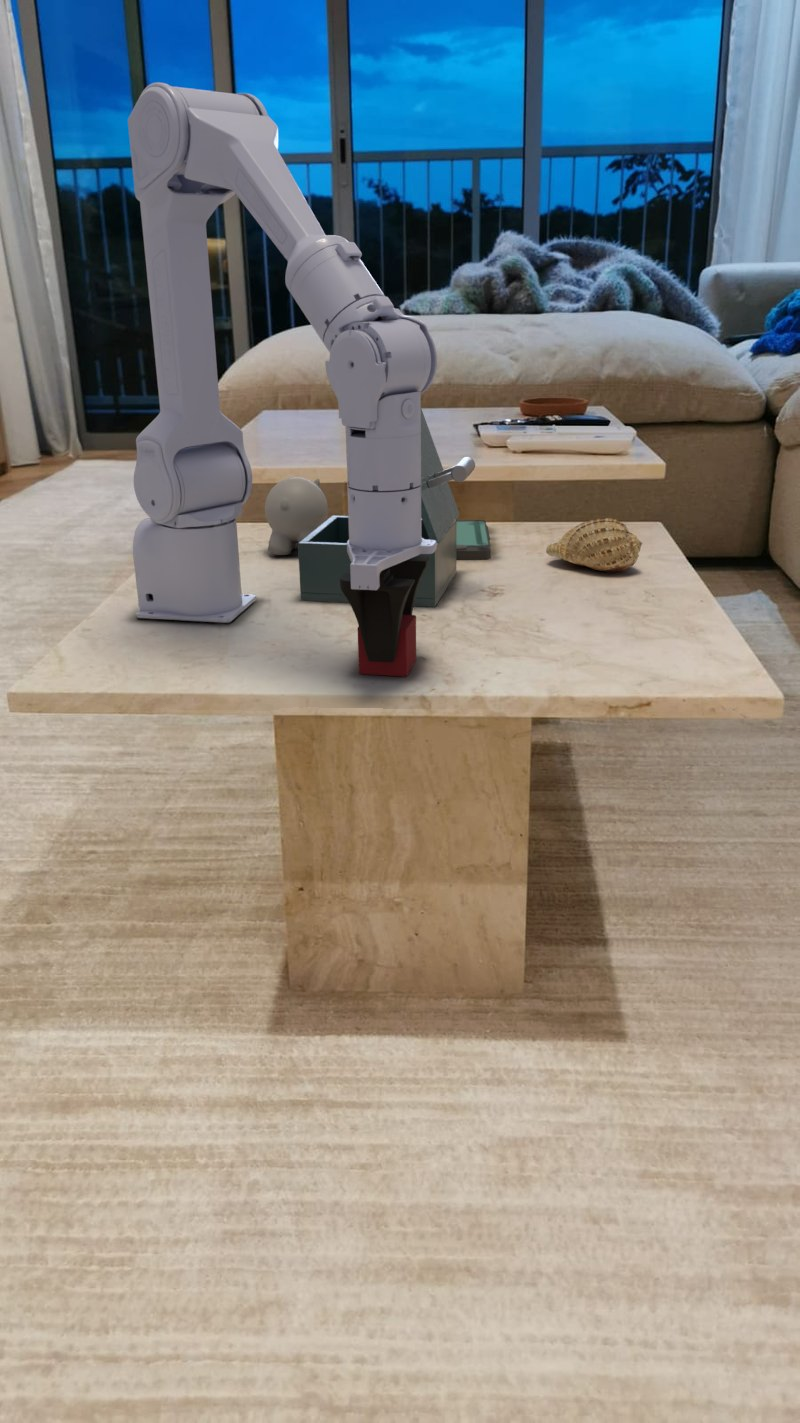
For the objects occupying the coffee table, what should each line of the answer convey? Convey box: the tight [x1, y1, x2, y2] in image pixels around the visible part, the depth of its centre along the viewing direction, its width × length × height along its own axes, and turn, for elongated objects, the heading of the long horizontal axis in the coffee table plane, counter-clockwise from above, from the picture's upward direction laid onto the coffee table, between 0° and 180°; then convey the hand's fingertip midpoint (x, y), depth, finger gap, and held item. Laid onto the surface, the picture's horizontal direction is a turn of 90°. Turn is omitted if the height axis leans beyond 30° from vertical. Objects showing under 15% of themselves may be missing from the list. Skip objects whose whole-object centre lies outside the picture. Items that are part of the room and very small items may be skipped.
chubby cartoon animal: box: [264, 476, 329, 556], centre depth 125 cm, size 7×12×8 cm, turn 171°
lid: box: [421, 408, 476, 543], centre depth 104 cm, size 14×13×5 cm
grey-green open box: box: [297, 515, 458, 608], centre depth 110 cm, size 14×13×6 cm
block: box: [357, 614, 417, 678], centre depth 88 cm, size 4×4×4 cm
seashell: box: [545, 517, 643, 573], centre depth 116 cm, size 8×6×10 cm
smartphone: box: [456, 519, 492, 560], centre depth 127 cm, size 7×1×15 cm
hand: (387, 651), depth 88 cm, fingers closed on block, 4 cm apart
